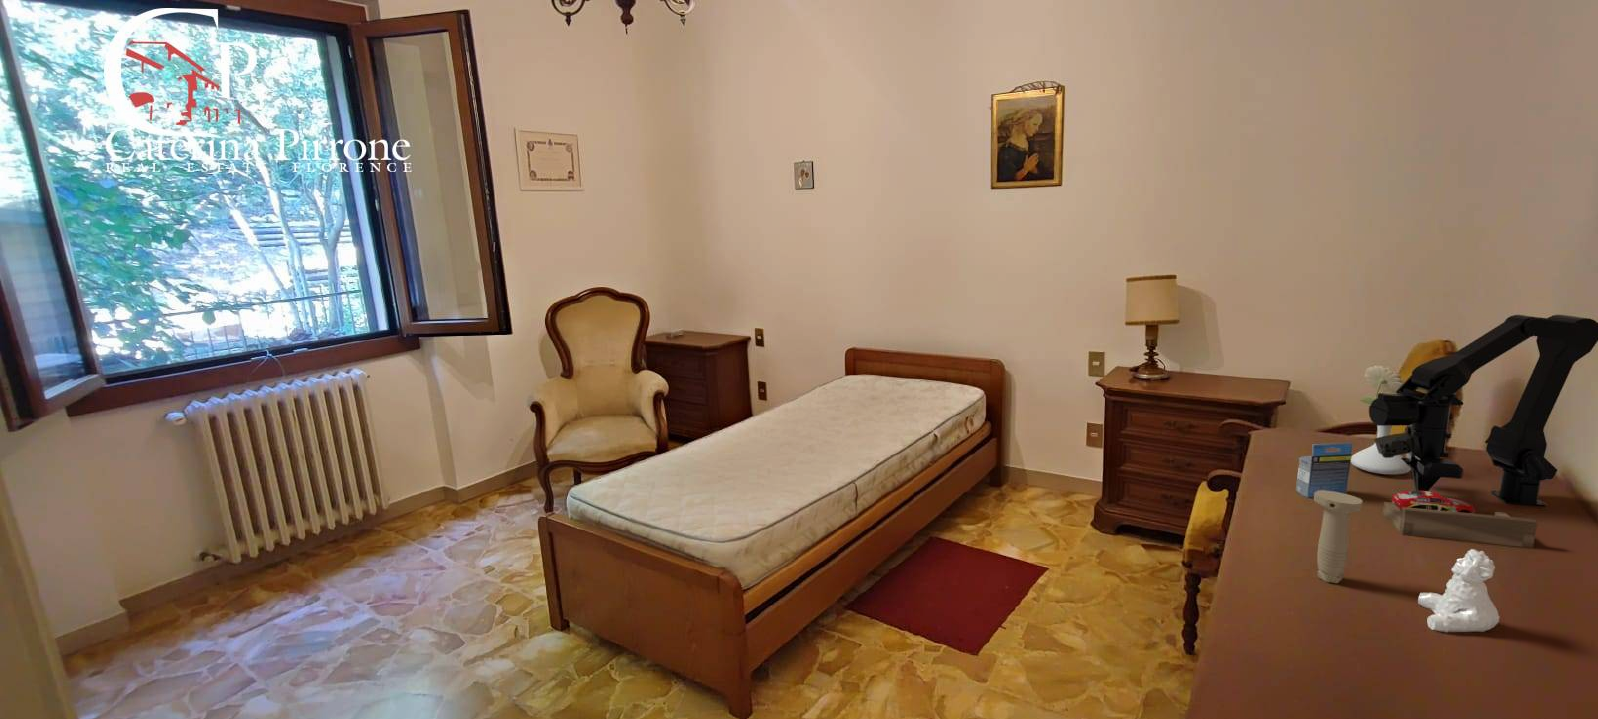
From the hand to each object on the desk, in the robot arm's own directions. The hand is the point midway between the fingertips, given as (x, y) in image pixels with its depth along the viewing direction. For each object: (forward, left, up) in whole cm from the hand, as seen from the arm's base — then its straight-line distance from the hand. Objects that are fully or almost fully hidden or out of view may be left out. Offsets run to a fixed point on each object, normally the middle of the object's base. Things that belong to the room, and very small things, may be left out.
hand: (1420, 495), depth 151 cm
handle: (+45, -27, -1) cm, 52 cm away
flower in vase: (-19, -2, -1) cm, 19 cm away
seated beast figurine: (+54, -13, -1) cm, 56 cm away
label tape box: (+2, -18, -1) cm, 18 cm away
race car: (+6, 0, -2) cm, 6 cm away
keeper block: (+15, 0, -1) cm, 15 cm away
